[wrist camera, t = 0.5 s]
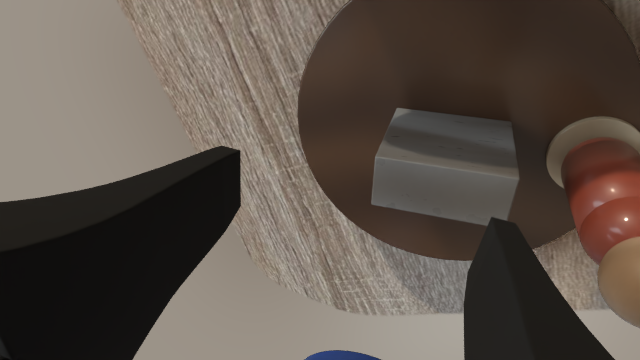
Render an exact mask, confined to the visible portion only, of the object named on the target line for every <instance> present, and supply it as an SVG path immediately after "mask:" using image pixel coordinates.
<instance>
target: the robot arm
mask: <svg viewBox="0 0 640 360" xmlns="http://www.w3.org/2000/svg"><path fill="white" fill-rule="evenodd" d="M240 206H241V195H240V150H236V149H232V148H229V147H225V146H219V147H215V148H212V149H209V150H206V151H203V152H201V153H198V154H195V155H193V156H190V157H187V158H185V159H182V160H179V161H176V162H174V163H172V164H168V165H166V166H163V167H160V168H157V169H154V170H151V171H148V172H145V173H142V174H139V175H136V176H133V177H130V178H127V179H123V180H120V181H116V182H113V183H109V184H106V185H101V186H97V187H93V188H89V189H84V190H80V191H74V192H69V193H63V194H57V195H52V196H46V197H41V198H35V199H26V200H18V201H9V202H0V360H132V359H133V358H134V356H135V354H136V352H137V351H138V349H139V348H140V346H141V345H142V343H143V341H144V340H145V338H146V337H147V335H148V333H149V331H150V330H151V328H152V327H153V325H154V324H155V322H156V320H157V319H158V318H159V316H160V315H161V313H162V312H163V310H164V308H165V307H166V306H167V304H168V302H169V301H170V299H171V298H172V296H173V295H174V294H175V292H176V291H177V290H178V289H179V287H180V286H181V285H182V284H183V282H184V281H185V280H186V279H187V277H188V276H189V275H190V274H191V272H192V271H193V270H194V269H195V268H196V267H197V265H198V264H199V263H200V262H201V261H202V259H203V258H204V257H205V256H206V255H207V253H208V252H209V251H210V250H211V248H212V247H213V246H214V245H215V243H216V242H217V241H218V240H219V239H220V237H221V236H222V235H223V233H224V232H225V231H226V229H227V228H228V226H229V224H230V223H231V221H232V220H233V218H234V216H235V215H236V213H237V211H238V209H239V208H240ZM464 352H465V353H464V355H465V356H464V357H465V360H615V359H614V358H613V357H612V356H611V355H610V354H609V353H608V351H607V350H606V349H605V348H604V347H603V346H602V345H601V343H600V342H599V341H598V340H597V339H596V338H595V337H594V335H592V333H591V332H590V331H589V330H588V328H587V327H586V326H585V325H584V324H583V322H582V321H581V320H580V319H579V317H578V316H577V315H576V313H575V312H574V311H573V309H572V308H571V307H570V305H569V304H568V303H567V301H566V300H565V299H564V297H563V296H562V295H561V293H560V292H559V290H558V289H557V288H556V286H555V285H554V283H553V282H552V280H551V279H550V277H549V276H548V274H547V273H546V271H545V270H544V268H543V267H542V265H541V264H540V262H539V260H538V259H537V257H536V256H535V254H534V252H533V251H532V249H531V247H530V246H529V244H528V242H527V241H526V239H525V237H524V236H523V234H522V232H521V231H520V229H519V227H518V226H517V224H516V223H513V222H509V221H506V220H502V219H498V218H494V217H491V219H490V221H489V223H488V226H487V228H486V231H485V233H484V235H483V238H482V240H481V242H480V245H479V247H478V250H477V252H476V254H475V257H474V259H473V261H472V264H471V266H470V269H469V271H468V275H467V283H466V291H465V300H464Z"/></svg>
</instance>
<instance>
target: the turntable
mask: <svg viewBox="0 0 640 360" xmlns="http://www.w3.org/2000/svg"><path fill="white" fill-rule="evenodd" d="M298 124H299V134H300V138H301V143H302V147H303V151H304V154H305V156H306V159H307V162H308V165H309V167H310V169H311V171H312V173H313V175H314V177H315V179H316V181H317V182H318V184H319V185H320V187H321V188H322V190H323V191H324V193H325V194H326V196H327V197H328V198H329V199H330V200H331V202H332V203H333V204H334V205H335V206H336V207H337V208H338V209H339V210H340V211H341V212H342V213H343V214H344V215H345V216H346V217H347V218H348V219H349V220H351V221H352V222H353V223H354V224H356V225H357V226H358V227H360V228H361V229H362V230H364V231H366V232H367V233H369V234H370V235H372V236H374V237H375V238H377V239H379V240H381V241H383V242H385V243H387V244H389V245H391V246H394V247H397V248H399V249H402V250H405V251H407V252H411V253H415V254H418V255H422V256H426V257H432V258H438V259H445V260H461V261H468V260H473V259H474V257H475V254H476V252H477V250H478V247H479V245H480V242H481V240H482V238H483V235H484V233H485V231H486V228H487V226H488V223H489V221H490V219H491V217H494V218H498V219H502V220H506V221H509V222H513V223H516V224H517V226H518V227H519V229H520V231H521V232H522V234H523V236H524V237H525V239H526V241H527V242H528V244H529V246H530V247H531V249H534V248H537V247H540V246H542V245H544V244H546V243H548V242H550V241H552V240H555V239H557V238H559V237H560V236H562V235H564V234H565V233H567V232H569V231H570V230H572V229H573V228H575V227H576V229H577V232H578V235H579V238H580V242H581V244H582V246H583V248H584V250H585V251H586V253H587V255H588V256H589V257H590V258H591V259H592V260H593V261H594V262H595V263H596V264H597V265H599V268H598V277H597V278H598V286H599V290H600V292H601V295H602V297H603V299H604V300H605V302H606V303H607V305H608V306H609V307H610V308H611V310H612V311H613V312H614V313H615V314H617V315H618V316H619V317H620V318H622V319H623V320H625V321H626V322H628V323H630V324H632V325H634V326H636V327H638V328H640V62H639V59H638V56H637V53H636V50H635V47H634V45H633V43H632V41H631V40H630V38H629V36H628V34H627V32H626V31H625V29H624V27H623V25H622V24H621V22H620V21H619V20H618V19H617V17H616V16H615V15H614V14H613V13H612V11H611V10H610V9H609V8H608V6H607V5H606V4H605V3H604V2H603V1H602V0H350V1H348V2H347V3H346V4H345V5H344V6H343V7H342V8H341V9H340V10H339V11H338V12H337V14H336V15H335V16H334V17H333V18H332V19H331V21H330V22H329V23H328V24H327V26H326V27H325V29H324V30H323V32H322V33H321V35H320V36H319V38H318V39H317V41H316V43H315V45H314V47H313V49H312V51H311V53H310V55H309V58H308V60H307V63H306V66H305V69H304V72H303V75H302V79H301V84H300V90H299V96H298Z"/></svg>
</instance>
